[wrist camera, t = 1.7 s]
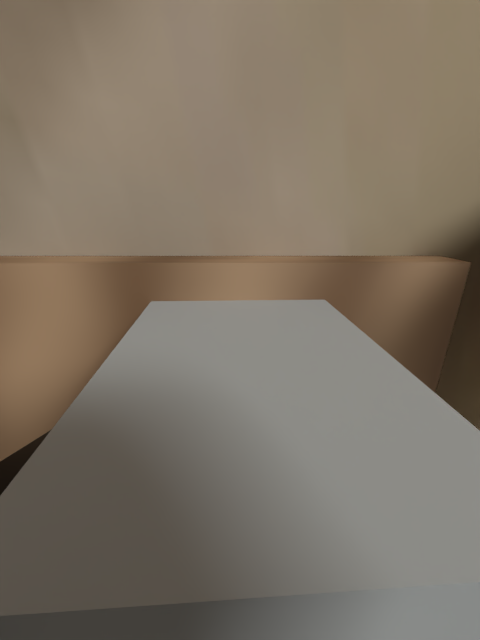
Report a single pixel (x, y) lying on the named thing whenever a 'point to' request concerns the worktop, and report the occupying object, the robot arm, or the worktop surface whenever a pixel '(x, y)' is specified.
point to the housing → (246, 490)
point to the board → (197, 285)
